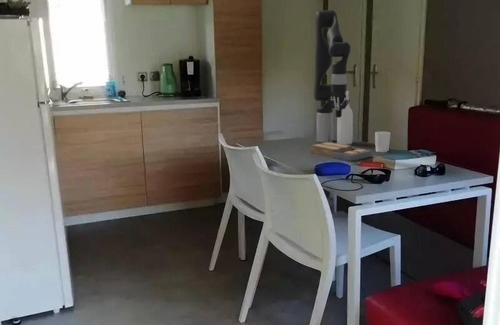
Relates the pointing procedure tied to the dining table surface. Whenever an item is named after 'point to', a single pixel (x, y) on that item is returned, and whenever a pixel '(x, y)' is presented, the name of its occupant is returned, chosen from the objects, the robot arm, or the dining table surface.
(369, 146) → the dining table surface
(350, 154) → the tile
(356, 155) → the box
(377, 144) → the white cup
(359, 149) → the tile
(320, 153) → the oak plate
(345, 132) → the alcohol
